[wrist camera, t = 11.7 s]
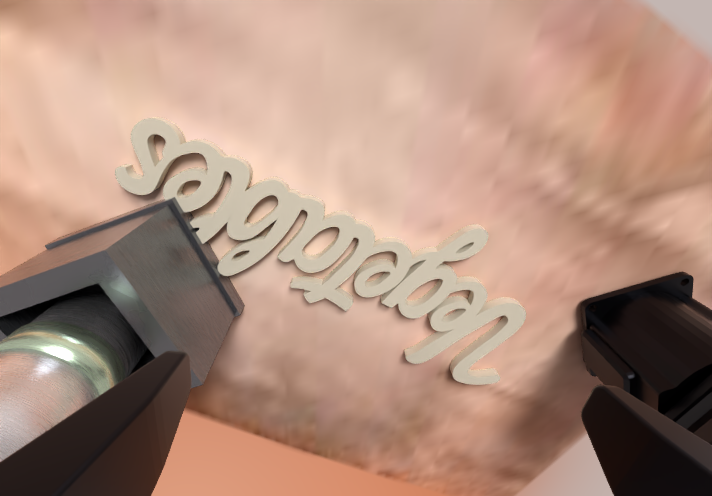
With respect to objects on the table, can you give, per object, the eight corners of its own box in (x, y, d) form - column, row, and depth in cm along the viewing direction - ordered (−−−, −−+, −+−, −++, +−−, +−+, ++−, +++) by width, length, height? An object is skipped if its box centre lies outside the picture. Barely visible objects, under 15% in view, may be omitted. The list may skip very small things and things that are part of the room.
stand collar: (179, 193, 19) (106, 243, 13) (248, 312, 22) (215, 395, 17) (58, 238, 20) (-62, 304, 14) (142, 346, 23) (74, 437, 17)
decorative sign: (587, 287, 22) (486, 394, 25) (577, 279, 23) (481, 384, 26) (151, 43, 16) (98, 230, 19) (161, 45, 16) (109, 223, 20)
